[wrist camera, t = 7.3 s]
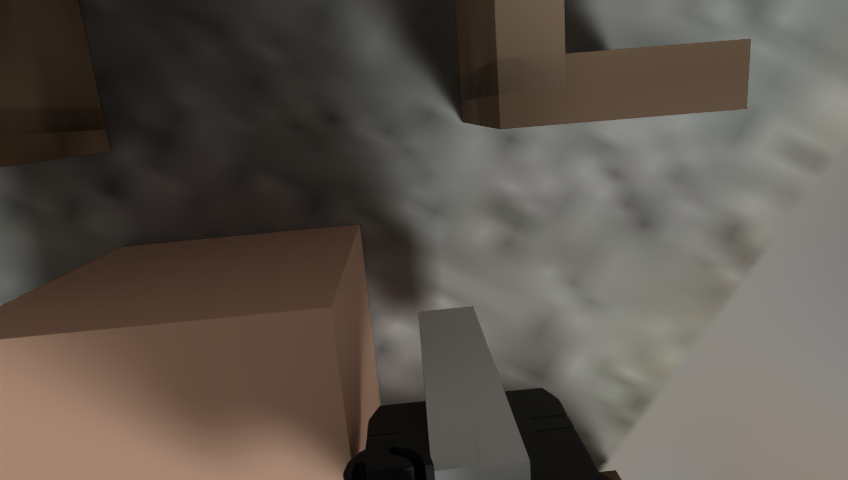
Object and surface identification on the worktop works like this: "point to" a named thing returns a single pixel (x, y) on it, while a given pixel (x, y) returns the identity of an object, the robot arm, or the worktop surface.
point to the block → (193, 363)
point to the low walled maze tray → (540, 97)
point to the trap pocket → (79, 100)
